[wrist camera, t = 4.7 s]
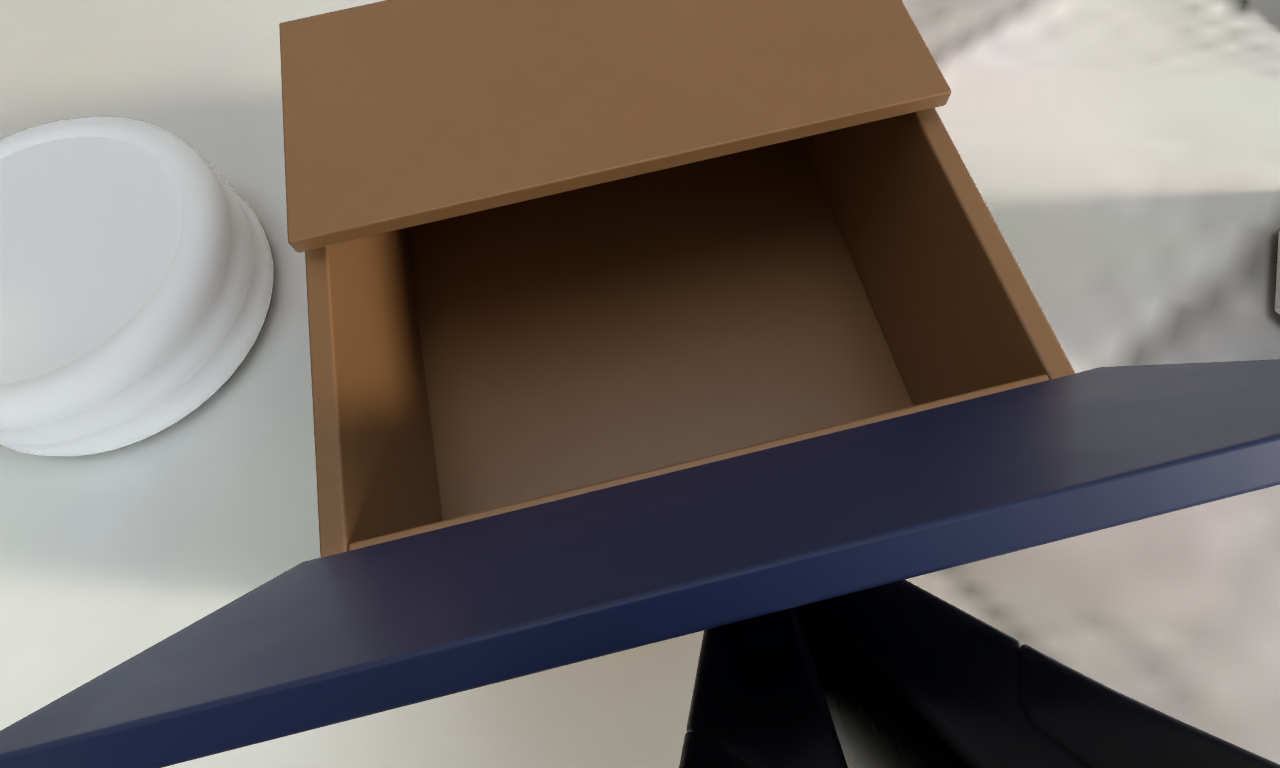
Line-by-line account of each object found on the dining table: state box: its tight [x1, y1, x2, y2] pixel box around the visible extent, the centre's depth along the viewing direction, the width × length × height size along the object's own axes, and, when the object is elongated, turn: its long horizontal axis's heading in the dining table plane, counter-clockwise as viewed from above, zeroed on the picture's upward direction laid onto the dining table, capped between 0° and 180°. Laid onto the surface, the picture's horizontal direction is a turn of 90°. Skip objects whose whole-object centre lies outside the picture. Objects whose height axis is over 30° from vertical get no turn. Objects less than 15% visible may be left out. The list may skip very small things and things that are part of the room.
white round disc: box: [0, 117, 274, 456], centre depth 21 cm, size 10×10×4 cm
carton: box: [279, 0, 1075, 558], centre depth 18 cm, size 13×14×7 cm
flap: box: [0, 360, 1280, 768], centre depth 9 cm, size 6×14×1 cm
